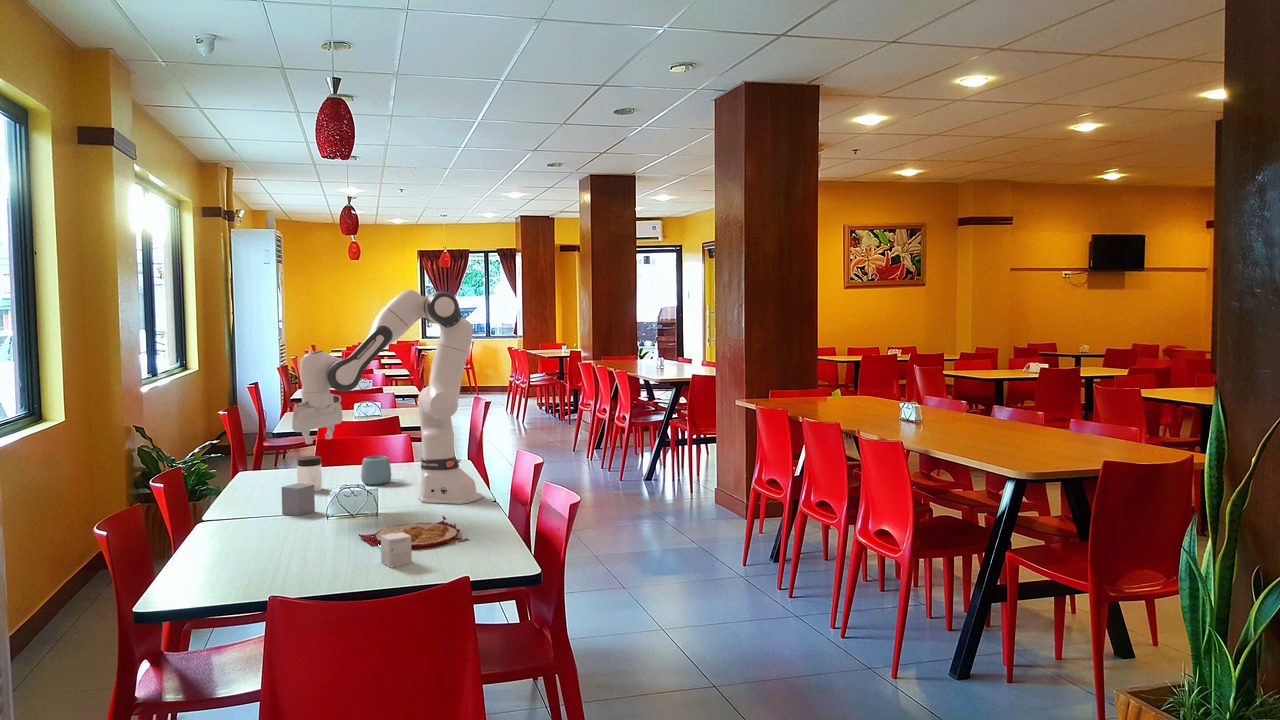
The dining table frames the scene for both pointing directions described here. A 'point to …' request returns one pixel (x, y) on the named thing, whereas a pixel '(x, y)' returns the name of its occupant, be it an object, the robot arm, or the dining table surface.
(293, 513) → the gray block
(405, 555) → the product box
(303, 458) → the jar
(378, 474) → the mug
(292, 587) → the dining table surface
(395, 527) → the plate with food
